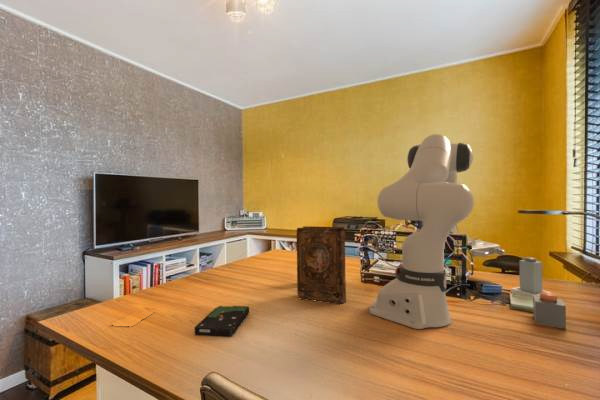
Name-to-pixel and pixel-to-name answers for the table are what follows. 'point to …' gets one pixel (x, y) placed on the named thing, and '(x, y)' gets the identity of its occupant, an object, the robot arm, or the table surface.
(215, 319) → the disk drive
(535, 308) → the button post
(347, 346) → the table surface
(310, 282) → the book
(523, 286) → the cartridge
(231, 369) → the table surface
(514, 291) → the socket collar
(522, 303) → the tray
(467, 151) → the robot arm
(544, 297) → the button
